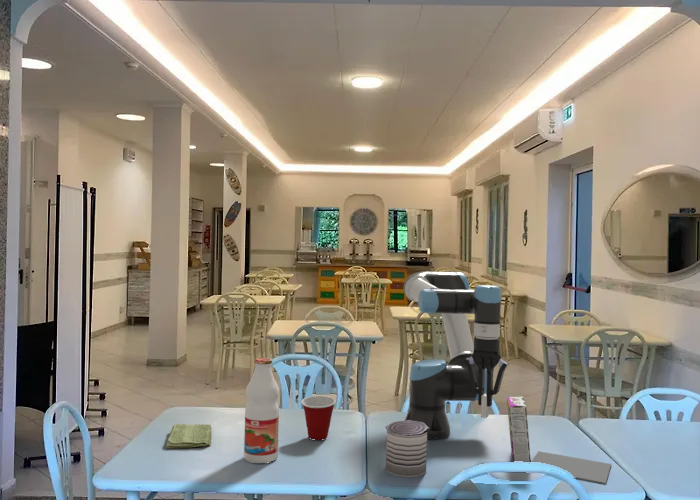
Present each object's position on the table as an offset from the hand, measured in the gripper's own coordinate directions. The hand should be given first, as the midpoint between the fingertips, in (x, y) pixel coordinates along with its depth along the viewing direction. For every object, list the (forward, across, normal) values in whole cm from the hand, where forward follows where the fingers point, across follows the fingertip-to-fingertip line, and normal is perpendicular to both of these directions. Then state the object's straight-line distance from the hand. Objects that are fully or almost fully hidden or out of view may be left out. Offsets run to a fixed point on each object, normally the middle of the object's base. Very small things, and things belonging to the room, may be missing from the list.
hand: (484, 416), depth 180 cm
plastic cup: (+11, -48, -16) cm, 52 cm away
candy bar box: (+11, +11, 0) cm, 15 cm away
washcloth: (+11, -80, -38) cm, 89 cm away
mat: (+11, +24, 0) cm, 26 cm away
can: (+11, -14, -26) cm, 31 cm away
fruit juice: (+11, -52, -40) cm, 67 cm away
